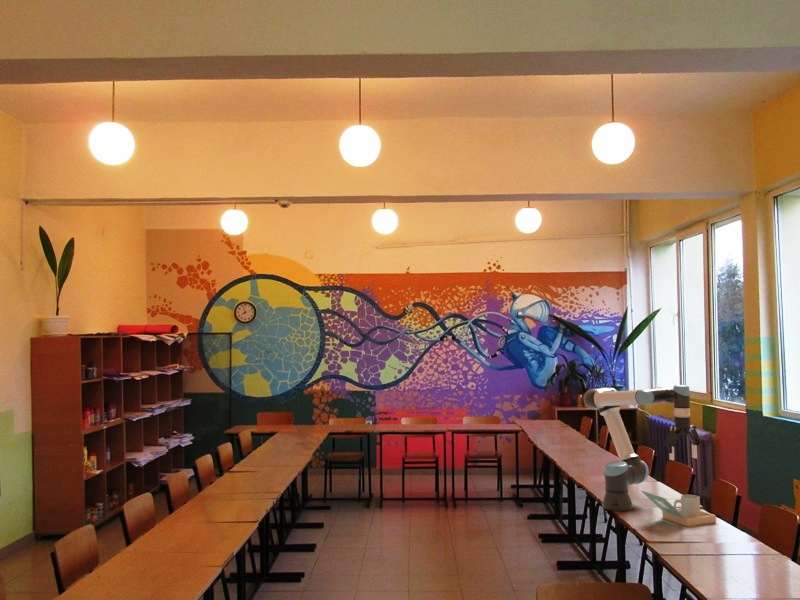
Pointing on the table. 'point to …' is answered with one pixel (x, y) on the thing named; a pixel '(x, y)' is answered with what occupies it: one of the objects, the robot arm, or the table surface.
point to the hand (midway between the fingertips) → (683, 458)
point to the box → (691, 519)
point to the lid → (663, 504)
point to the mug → (689, 506)
